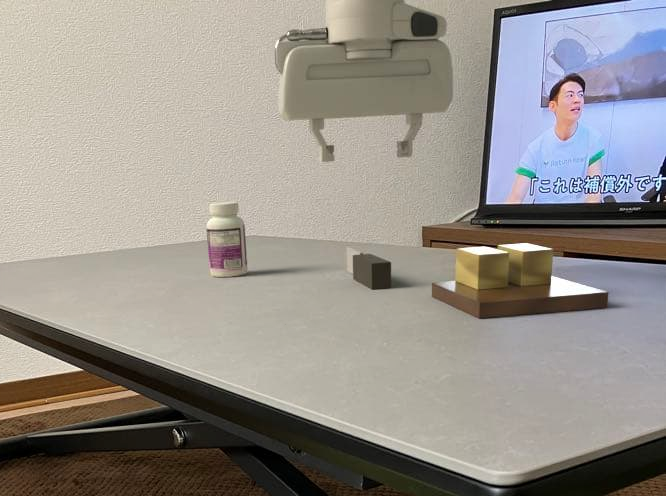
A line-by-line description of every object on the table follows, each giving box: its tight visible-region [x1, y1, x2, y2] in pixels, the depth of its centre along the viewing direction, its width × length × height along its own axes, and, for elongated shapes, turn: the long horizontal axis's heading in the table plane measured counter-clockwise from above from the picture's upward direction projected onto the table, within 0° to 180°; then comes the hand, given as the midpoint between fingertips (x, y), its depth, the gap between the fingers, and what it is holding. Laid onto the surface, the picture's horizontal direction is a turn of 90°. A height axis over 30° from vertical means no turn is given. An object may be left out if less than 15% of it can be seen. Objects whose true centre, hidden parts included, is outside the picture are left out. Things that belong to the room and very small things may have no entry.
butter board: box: [431, 242, 610, 319], centre depth 93 cm, size 13×15×5 cm
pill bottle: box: [205, 201, 249, 278], centre depth 126 cm, size 5×5×10 cm
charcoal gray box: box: [346, 246, 392, 290], centre depth 115 cm, size 18×2×3 cm, turn 8°
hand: (365, 159), depth 107 cm, fingers open, 8 cm apart
